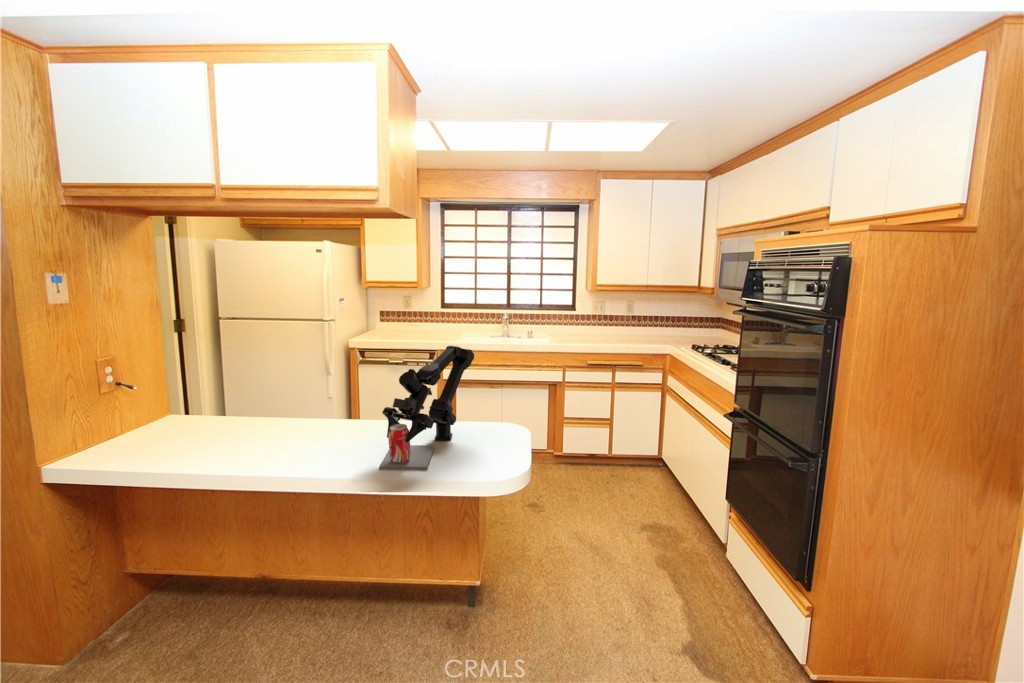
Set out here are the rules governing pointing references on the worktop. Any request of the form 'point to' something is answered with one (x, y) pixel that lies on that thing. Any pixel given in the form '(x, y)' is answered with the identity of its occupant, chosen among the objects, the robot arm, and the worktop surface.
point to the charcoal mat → (411, 459)
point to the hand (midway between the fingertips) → (396, 439)
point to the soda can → (399, 443)
